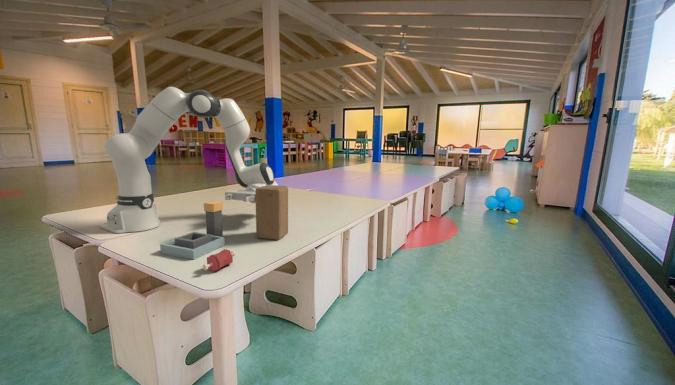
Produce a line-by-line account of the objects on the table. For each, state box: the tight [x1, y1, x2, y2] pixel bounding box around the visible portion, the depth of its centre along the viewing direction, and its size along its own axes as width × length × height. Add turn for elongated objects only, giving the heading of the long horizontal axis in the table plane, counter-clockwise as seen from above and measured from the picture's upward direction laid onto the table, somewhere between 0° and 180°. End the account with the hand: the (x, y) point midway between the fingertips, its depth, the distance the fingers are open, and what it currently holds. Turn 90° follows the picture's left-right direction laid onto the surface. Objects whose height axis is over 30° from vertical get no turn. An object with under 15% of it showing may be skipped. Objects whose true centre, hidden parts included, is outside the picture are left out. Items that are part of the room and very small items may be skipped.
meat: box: [202, 248, 236, 272], centre depth 84 cm, size 12×5×5 cm, turn 158°
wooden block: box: [255, 185, 289, 241], centre depth 112 cm, size 10×10×20 cm
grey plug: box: [203, 200, 224, 237], centre depth 108 cm, size 5×5×14 cm
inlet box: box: [159, 231, 226, 261], centre depth 97 cm, size 14×14×4 cm
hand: (235, 198), depth 118 cm, fingers open, 8 cm apart
